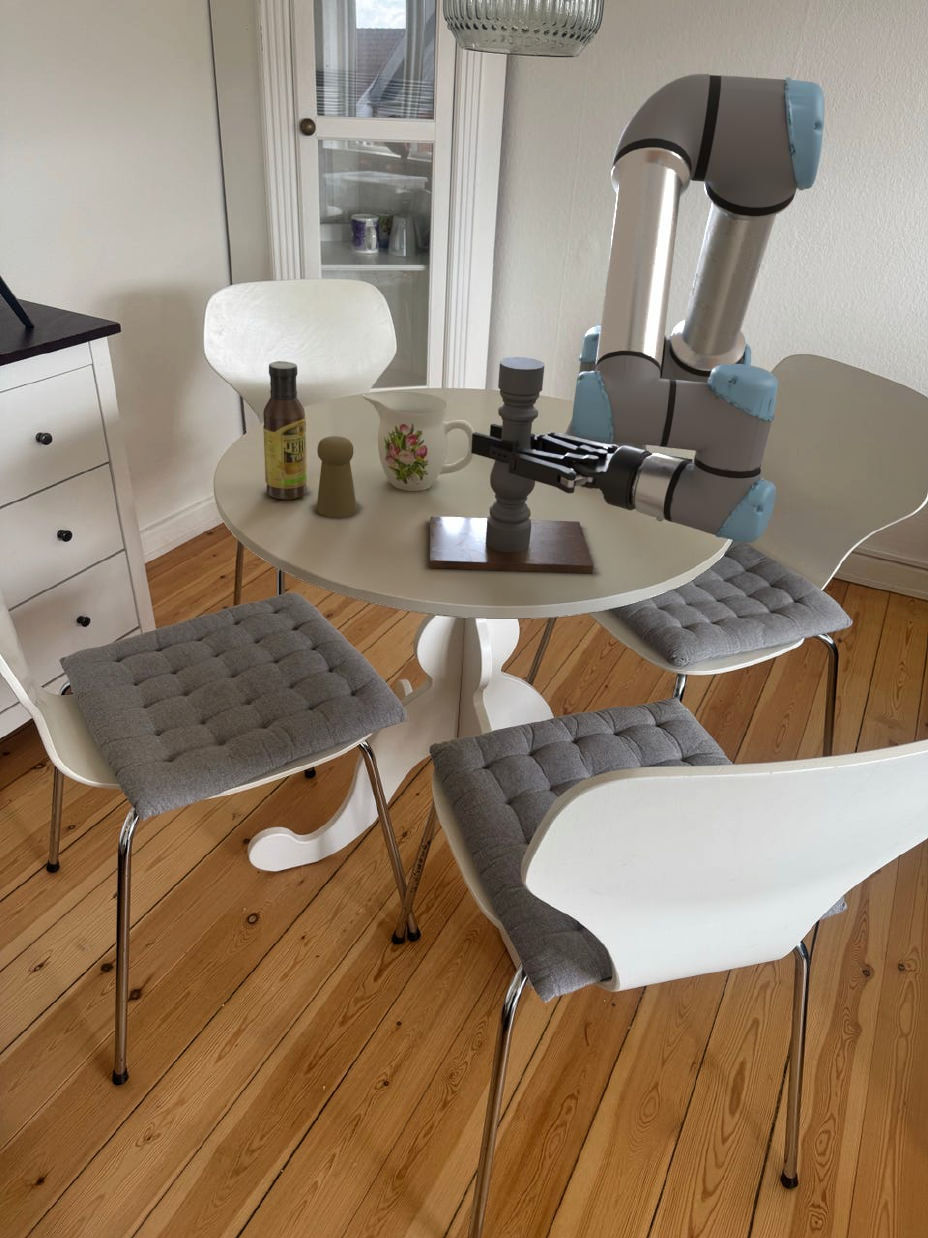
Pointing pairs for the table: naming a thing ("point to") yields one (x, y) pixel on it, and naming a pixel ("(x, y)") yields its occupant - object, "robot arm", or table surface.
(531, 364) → the candle holder
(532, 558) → the walnut board
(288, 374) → the sauce bottle
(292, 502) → the table surface
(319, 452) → the olive pepper mill
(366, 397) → the pitcher
